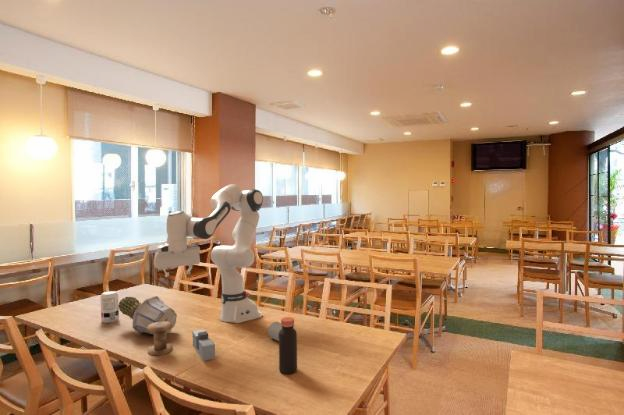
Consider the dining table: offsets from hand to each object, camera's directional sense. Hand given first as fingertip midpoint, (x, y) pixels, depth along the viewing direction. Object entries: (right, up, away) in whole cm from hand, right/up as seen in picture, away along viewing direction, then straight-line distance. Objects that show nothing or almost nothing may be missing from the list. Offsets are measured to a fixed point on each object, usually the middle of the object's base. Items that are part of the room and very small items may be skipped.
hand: (177, 275), depth 178 cm
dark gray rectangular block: (+16, -29, -15) cm, 36 cm away
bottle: (+54, -31, -33) cm, 70 cm away
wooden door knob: (-3, -30, -14) cm, 33 cm away
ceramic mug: (+49, -29, -2) cm, 57 cm away
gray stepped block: (+16, -30, -15) cm, 37 cm away
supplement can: (-44, -28, +24) cm, 58 cm away
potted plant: (-19, -29, +8) cm, 35 cm away
